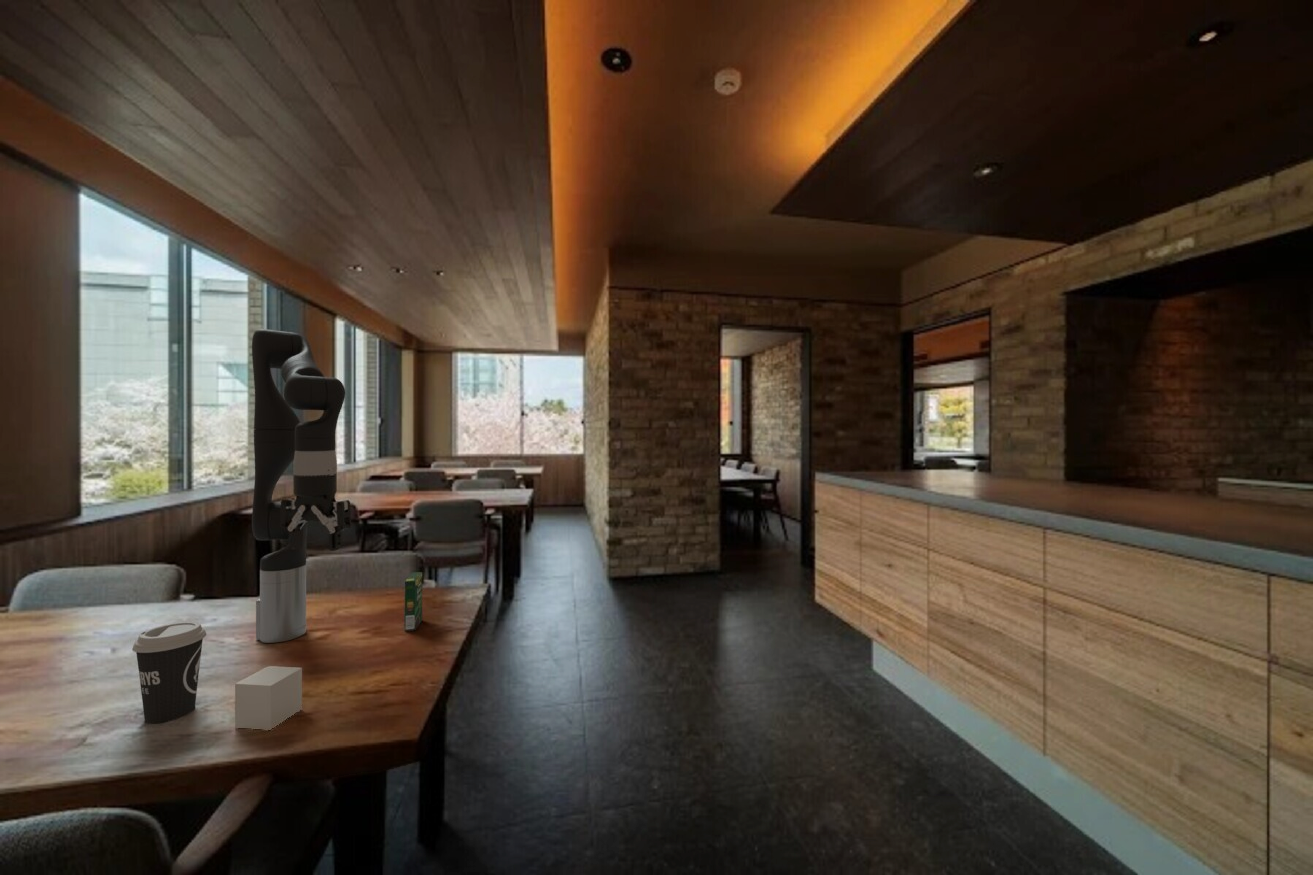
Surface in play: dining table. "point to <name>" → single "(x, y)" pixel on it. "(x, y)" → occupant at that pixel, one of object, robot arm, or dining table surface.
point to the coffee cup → (169, 669)
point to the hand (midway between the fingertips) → (315, 549)
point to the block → (268, 697)
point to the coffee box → (413, 601)
